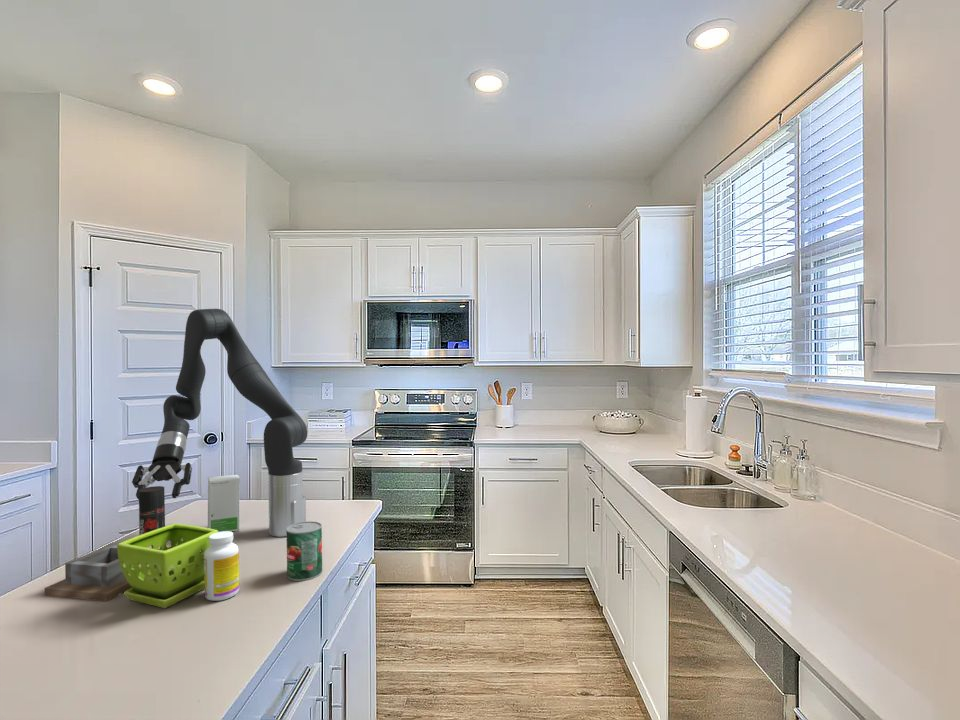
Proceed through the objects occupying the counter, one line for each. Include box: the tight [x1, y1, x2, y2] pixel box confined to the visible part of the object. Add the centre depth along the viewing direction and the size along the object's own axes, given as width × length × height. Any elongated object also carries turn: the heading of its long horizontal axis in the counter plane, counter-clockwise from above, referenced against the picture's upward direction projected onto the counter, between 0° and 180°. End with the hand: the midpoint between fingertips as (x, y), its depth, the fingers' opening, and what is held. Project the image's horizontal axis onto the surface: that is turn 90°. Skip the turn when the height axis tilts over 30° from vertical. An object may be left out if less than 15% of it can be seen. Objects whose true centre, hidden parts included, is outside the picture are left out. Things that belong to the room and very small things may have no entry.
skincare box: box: [207, 474, 241, 532], centre depth 150 cm, size 8×7×16 cm
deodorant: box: [138, 485, 166, 536], centre depth 139 cm, size 6×6×15 cm
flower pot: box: [117, 523, 218, 609], centre depth 109 cm, size 14×14×13 cm
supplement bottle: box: [204, 531, 240, 602], centre depth 109 cm, size 7×7×13 cm
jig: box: [44, 544, 171, 602], centre depth 119 cm, size 16×22×6 cm
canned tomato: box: [285, 520, 324, 582], centre depth 119 cm, size 8×8×11 cm
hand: (156, 497), depth 143 cm, fingers open, 8 cm apart
